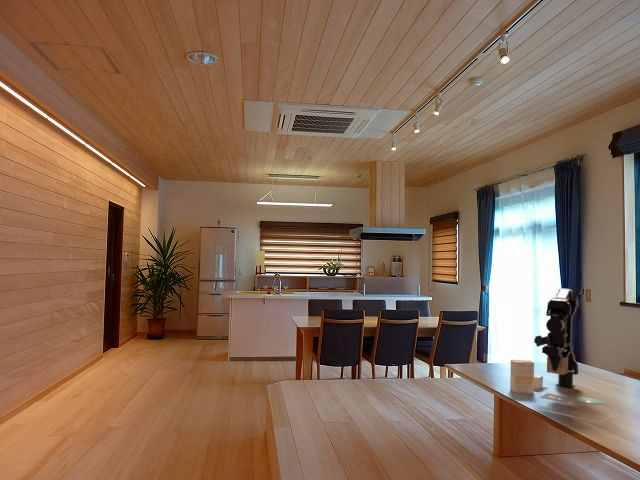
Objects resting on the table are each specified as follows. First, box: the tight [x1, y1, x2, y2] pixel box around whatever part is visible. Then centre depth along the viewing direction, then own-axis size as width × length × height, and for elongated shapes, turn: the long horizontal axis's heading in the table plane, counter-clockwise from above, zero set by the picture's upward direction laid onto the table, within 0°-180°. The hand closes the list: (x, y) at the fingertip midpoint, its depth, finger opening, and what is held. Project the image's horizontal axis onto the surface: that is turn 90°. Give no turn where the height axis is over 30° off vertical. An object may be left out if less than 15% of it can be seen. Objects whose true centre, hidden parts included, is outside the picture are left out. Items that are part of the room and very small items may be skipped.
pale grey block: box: [534, 373, 544, 391], centre depth 208 cm, size 5×5×5 cm
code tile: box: [539, 392, 575, 404], centre depth 193 cm, size 10×10×1 cm
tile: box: [534, 386, 549, 392], centre depth 208 cm, size 9×9×1 cm
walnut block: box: [546, 356, 568, 375], centre depth 193 cm, size 6×6×6 cm
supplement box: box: [509, 359, 535, 395], centre depth 201 cm, size 8×5×13 cm, turn 84°
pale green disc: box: [575, 397, 606, 406], centre depth 190 cm, size 10×10×1 cm
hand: (557, 369), depth 193 cm, fingers closed on walnut block, 6 cm apart
